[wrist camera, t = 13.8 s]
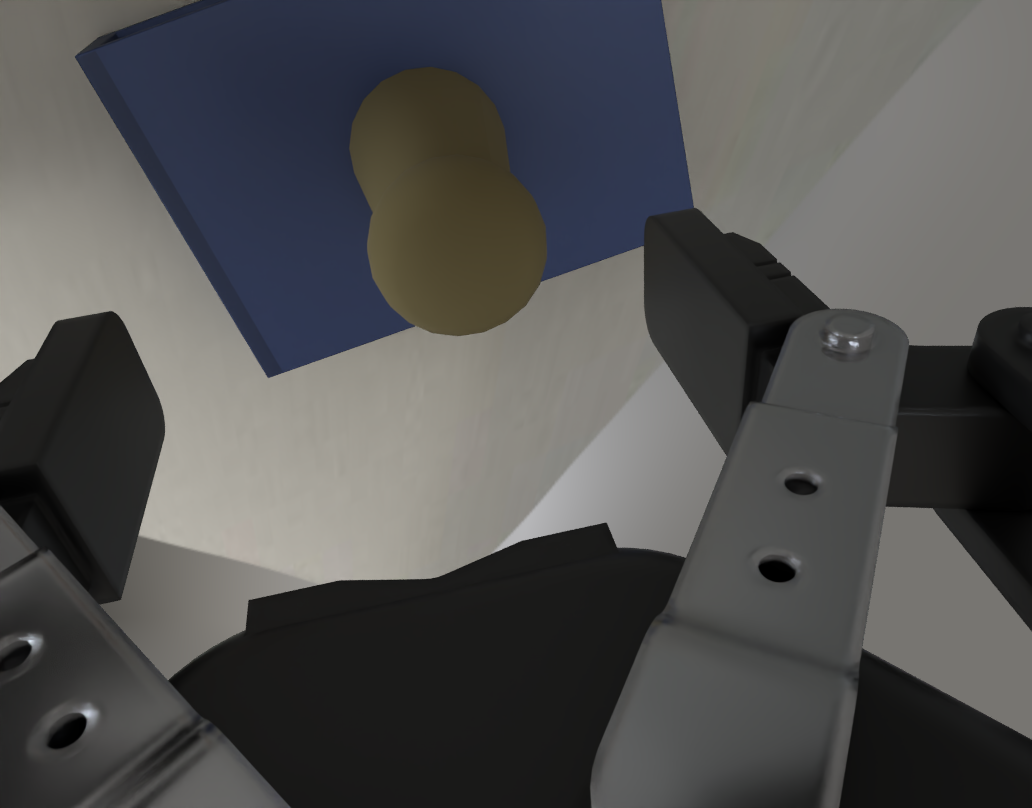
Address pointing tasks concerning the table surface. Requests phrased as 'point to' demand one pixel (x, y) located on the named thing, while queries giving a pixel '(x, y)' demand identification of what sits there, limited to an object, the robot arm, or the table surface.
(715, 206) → the table surface
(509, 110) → the book
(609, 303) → the table surface
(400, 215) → the cork
